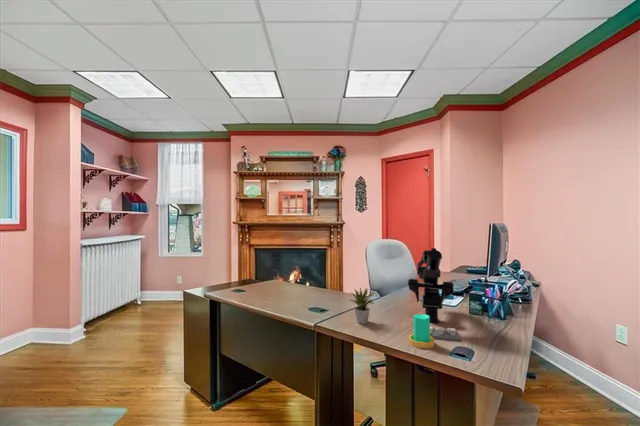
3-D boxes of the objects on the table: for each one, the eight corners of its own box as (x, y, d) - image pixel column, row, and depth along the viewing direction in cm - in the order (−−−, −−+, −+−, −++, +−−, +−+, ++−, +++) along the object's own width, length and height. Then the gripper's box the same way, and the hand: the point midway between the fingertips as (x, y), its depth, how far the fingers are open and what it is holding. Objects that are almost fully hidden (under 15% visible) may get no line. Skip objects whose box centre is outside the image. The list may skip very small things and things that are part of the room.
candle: (432, 342, 120) (431, 311, 120) (427, 347, 115) (426, 315, 115) (417, 339, 123) (416, 309, 124) (411, 343, 119) (411, 312, 119)
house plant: (378, 329, 135) (377, 291, 135) (346, 326, 137) (346, 290, 138) (378, 318, 149) (378, 285, 149) (349, 317, 151) (349, 283, 152)
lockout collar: (408, 337, 125) (408, 332, 125) (432, 340, 122) (432, 335, 122) (409, 346, 116) (409, 341, 116) (435, 349, 113) (435, 344, 113)
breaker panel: (422, 329, 134) (422, 324, 134) (456, 333, 130) (456, 327, 130) (423, 337, 125) (423, 331, 125) (460, 341, 121) (460, 335, 121)
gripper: (408, 260, 140) (403, 290, 130) (453, 263, 131) (451, 294, 121) (411, 275, 147) (407, 304, 137) (454, 278, 138) (453, 309, 128)
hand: (428, 303), depth 130 cm, fingers open, 9 cm apart
